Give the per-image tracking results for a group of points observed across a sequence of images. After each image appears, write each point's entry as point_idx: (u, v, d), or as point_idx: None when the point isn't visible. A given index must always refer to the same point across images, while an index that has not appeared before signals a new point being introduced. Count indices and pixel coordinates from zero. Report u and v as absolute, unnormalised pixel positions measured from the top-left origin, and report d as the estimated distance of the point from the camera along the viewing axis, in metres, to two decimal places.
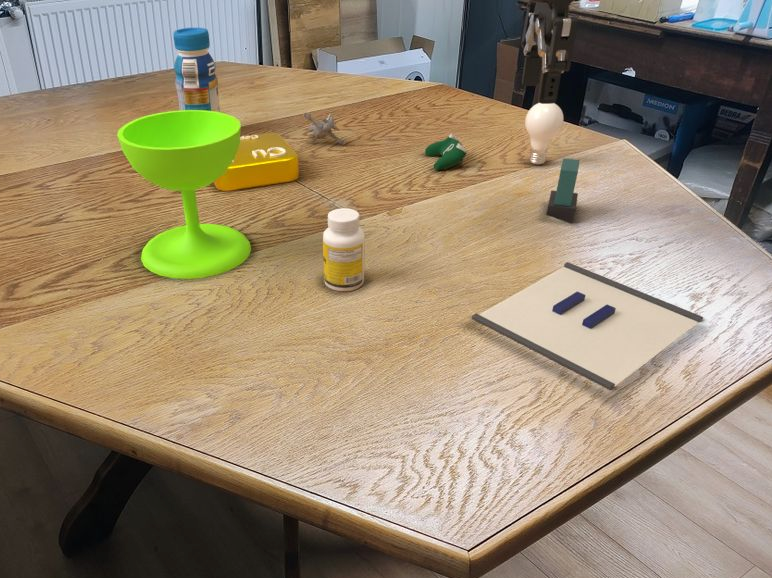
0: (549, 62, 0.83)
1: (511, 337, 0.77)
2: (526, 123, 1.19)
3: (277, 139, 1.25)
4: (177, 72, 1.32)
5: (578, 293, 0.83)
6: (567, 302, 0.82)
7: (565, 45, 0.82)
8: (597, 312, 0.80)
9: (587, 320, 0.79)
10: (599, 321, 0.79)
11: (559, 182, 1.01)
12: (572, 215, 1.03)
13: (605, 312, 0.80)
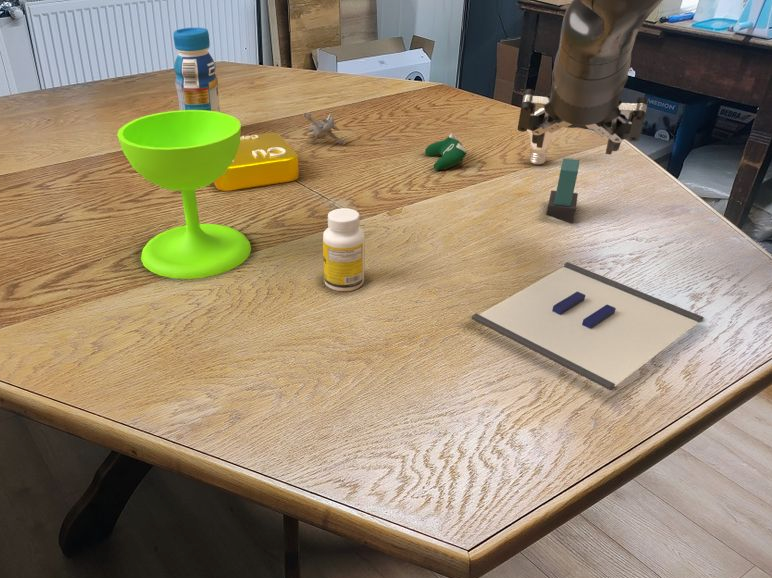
0: (634, 137, 0.82)
1: (511, 337, 0.77)
2: None
3: (277, 139, 1.25)
4: (177, 72, 1.32)
5: (578, 293, 0.83)
6: (567, 302, 0.82)
7: None
8: (597, 312, 0.80)
9: (587, 320, 0.79)
10: (599, 321, 0.79)
11: (559, 182, 1.01)
12: (572, 215, 1.03)
13: (605, 312, 0.80)
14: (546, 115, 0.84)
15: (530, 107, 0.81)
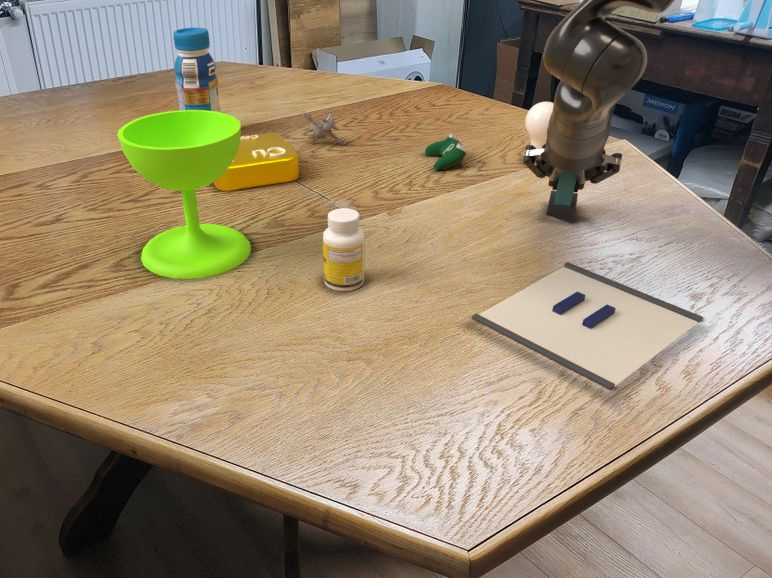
0: (596, 180, 0.99)
1: (511, 337, 0.77)
2: (526, 123, 1.19)
3: (277, 139, 1.25)
4: (177, 72, 1.32)
5: (578, 293, 0.83)
6: (567, 302, 0.82)
7: None
8: (597, 312, 0.80)
9: (587, 320, 0.79)
10: (599, 321, 0.79)
11: (559, 182, 1.01)
12: (572, 215, 1.03)
13: (605, 312, 0.80)
14: None
15: (529, 159, 0.98)
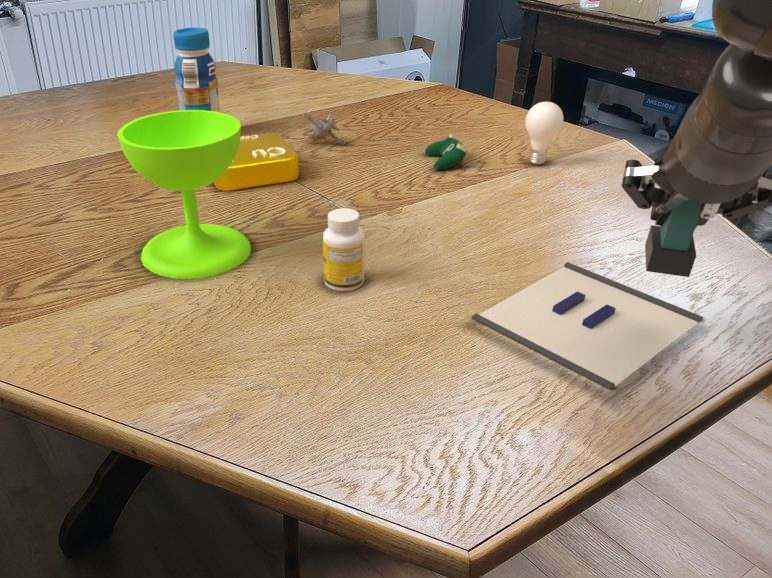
0: (733, 214, 0.65)
1: (511, 337, 0.77)
2: (526, 123, 1.19)
3: (277, 139, 1.25)
4: (177, 72, 1.32)
5: (578, 293, 0.83)
6: (567, 302, 0.82)
7: None
8: (597, 312, 0.80)
9: (587, 320, 0.79)
10: (599, 321, 0.79)
11: (673, 216, 0.67)
12: (689, 264, 0.68)
13: (605, 312, 0.80)
14: None
15: (632, 182, 0.63)
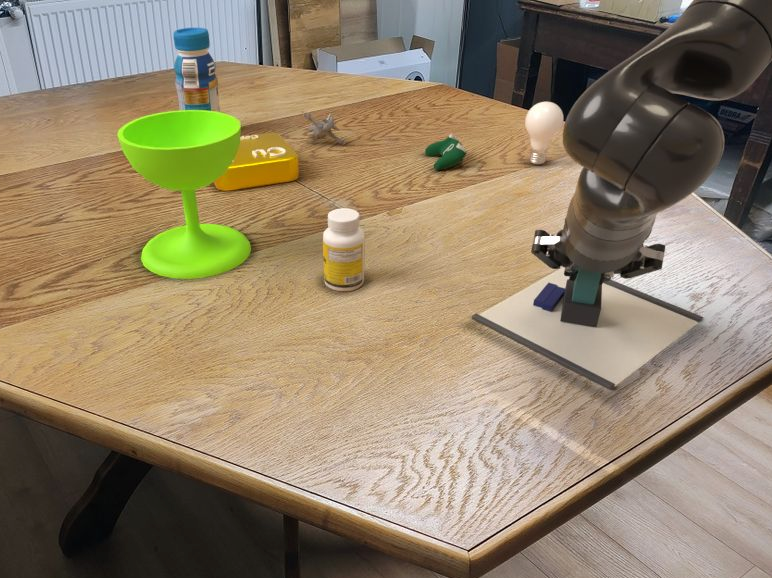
0: (628, 275, 0.75)
1: (511, 337, 0.77)
2: (526, 123, 1.19)
3: (277, 139, 1.25)
4: (177, 72, 1.32)
5: (550, 284, 0.85)
6: (545, 294, 0.83)
7: None
8: (552, 295, 0.83)
9: (546, 304, 0.82)
10: (556, 303, 0.83)
11: (579, 274, 0.77)
12: (596, 316, 0.78)
13: (559, 294, 0.83)
14: None
15: (539, 249, 0.73)
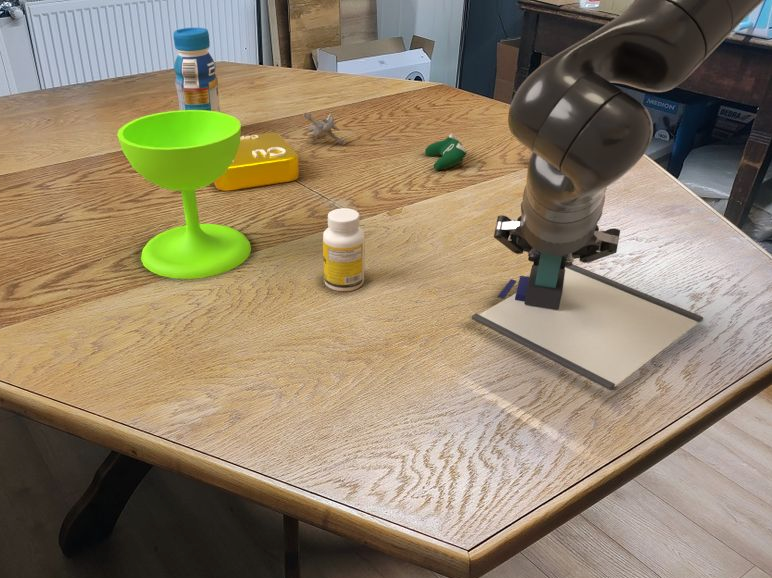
0: (587, 260, 0.78)
1: (511, 337, 0.77)
2: None
3: (277, 139, 1.25)
4: (177, 72, 1.32)
5: None
6: None
7: None
8: (520, 285, 0.86)
9: (519, 294, 0.84)
10: None
11: (541, 259, 0.80)
12: (557, 299, 0.81)
13: (526, 283, 0.86)
14: None
15: (501, 234, 0.77)
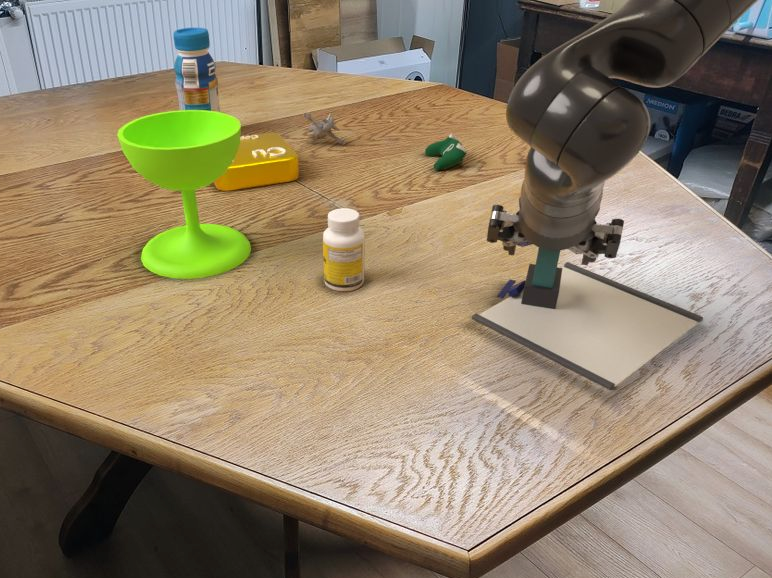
0: (610, 255, 0.76)
1: (511, 337, 0.77)
2: None
3: (277, 139, 1.25)
4: (177, 72, 1.32)
5: None
6: None
7: None
8: (513, 286, 0.86)
9: (511, 289, 0.84)
10: (520, 288, 0.85)
11: (538, 259, 0.80)
12: (554, 299, 0.81)
13: (519, 283, 0.87)
14: None
15: (498, 225, 0.75)
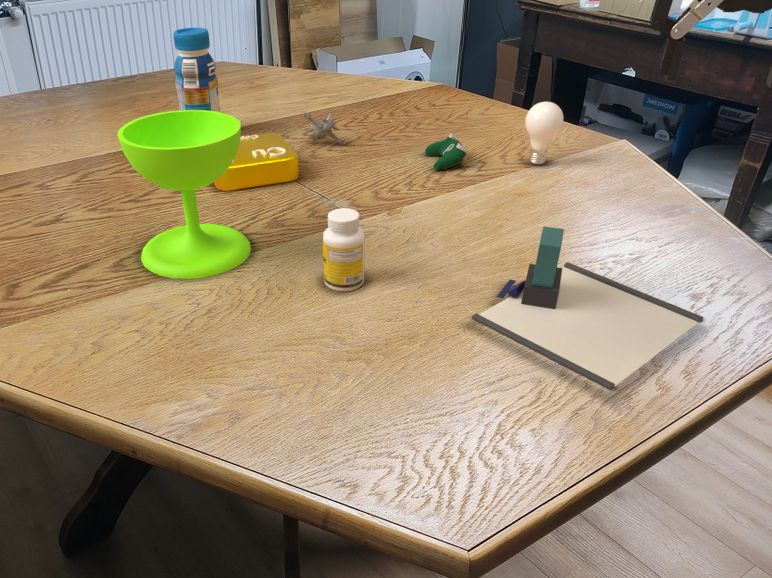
0: None
1: (511, 337, 0.77)
2: (526, 123, 1.19)
3: (277, 139, 1.25)
4: (177, 72, 1.32)
5: None
6: None
7: None
8: (513, 286, 0.86)
9: (511, 289, 0.84)
10: (520, 288, 0.85)
11: (538, 259, 0.80)
12: (554, 299, 0.81)
13: (519, 283, 0.87)
14: (693, 4, 0.61)
15: None
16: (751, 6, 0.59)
